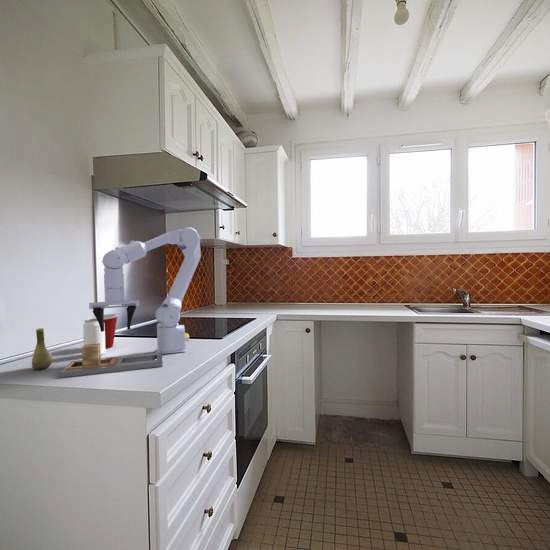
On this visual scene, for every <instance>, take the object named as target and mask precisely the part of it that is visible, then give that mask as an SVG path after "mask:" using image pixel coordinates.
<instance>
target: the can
mask: <svg viewBox="0 0 550 550" xmlns="http://www.w3.org/2000/svg"><path fill="white" fill-rule="evenodd" d="M82 328H83V332H82V333H83V346H84V345H86V344H98V343H100V356H102V355H105V353H106V352H107V351H106V349H107V348H106V349H105V324H104V331H103V332H101V329H100V326H99V323H98V321H97V319H89V320H87V319H85V320H84V323H83V325H82Z"/></svg>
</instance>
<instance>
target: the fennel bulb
mask: <svg viewBox="0 0 550 550" xmlns="http://www.w3.org/2000/svg"><path fill="white" fill-rule="evenodd" d="M44 332H45V331H44V328H43V327H41V328H37V329H36V331H35V333H36V344H35V345H36V346H35V347H34V351H33V354H32V358H31V359H32V360H31V365H32V366H31V368H32V369H33V370H40V369H41V370H44V369H47V368H48V367H50V366H51V365H52V364H53V363H52V362H53V358H52V356H51V353H50V352H49V350H48V349H47V347H46V343H45V333H44Z"/></svg>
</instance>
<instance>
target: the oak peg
mask: <svg viewBox="0 0 550 550" xmlns="http://www.w3.org/2000/svg"><path fill="white" fill-rule="evenodd" d="M81 358H82V359H81V360H82V364H83V366H89V365H99V364H101V358H102V355H100V343H98V344H86V345H84V344H83V346H82V347H81Z"/></svg>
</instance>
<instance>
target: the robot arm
mask: <svg viewBox="0 0 550 550" xmlns="http://www.w3.org/2000/svg"><path fill="white" fill-rule="evenodd" d="M200 243H201V236H200V235H199V233H198V230H196V228H194V227H190V226H188V227H184V228H183V229H182V228H180V229H175V230H171V231H168V232H166V233H163V234H160V235H159V236H156V237H154V238H152V239H149V240H147V241H144V242H142V241H140V240H139V241H138V240H136V241H135V240H131V241H129V243H128V244H125V245H123V246H120V247H119V246H117V247H115V248H114V249H111V250H110V251H108V252H106V253H105V254H104V255H103V257H102V261H101V262H102V265H103V266H104V269H103V271H104V274H103V281H104V282H103V283H104V285H103V287H104V301H97V302H90V303H88V306H89V307H88V308H89V309H88V310H92V314H93V315H94V316H95V317H96V319H97V321H98V323H99V326H100V329H101V332H103V331H104V315H105V314H104V312H105V309H113V308H115V309H116V308H126V314H127V315H126V316H127V323H126V324H127V325H126V327H127V328H126V329H127V331H128V330H131V324H132V320H133V317H134V314H135V311H136V310H137V307H139V308H140V299H139V300H138V299H137V300H125V278H124V275H125V274H124V265H125V264H126V265H127V264H128V265H129V264H130V263H133V262H136V261H138V260H140V259H142V258H145V257H146V256H147V253H148V252H149V251H151V250H154V249H157V248H159V247H162V246H164V245H168V244H169V245H176V246H177V247H178V248H179V249H180V250H181V251H182V254H183V255H184V259H183V261H182V263H181V265H180V268H179V270H178V272H177V273H176V274H177V275H176V276H175V279H174V280H173V284H172V286H171V288H170V290H169V293H168V295H167V296H166V298H165V299H164V300H163V302H162V304H161V305H160V306H159V307H158V308H157V309H156V311H155V315H154V317H155V319H156V321H157V322H158V323H157V324H156V346H157V348H156V352H155V353H159V352H162V355H165V354H177V353H186V346H187V341H185V333H186V332H185V331H186V329H185V325H184V324H179V322H180V319H181V310H182V301H183V299H184V297H185V295H186V292H187V290H188V288H189V286H190V283H191V281H192V278H193V276H194V273H195V272H196V270H197V267H198V264H199V262H200V260H201V257H202V256H201V255H202V254H201V244H200Z"/></svg>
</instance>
